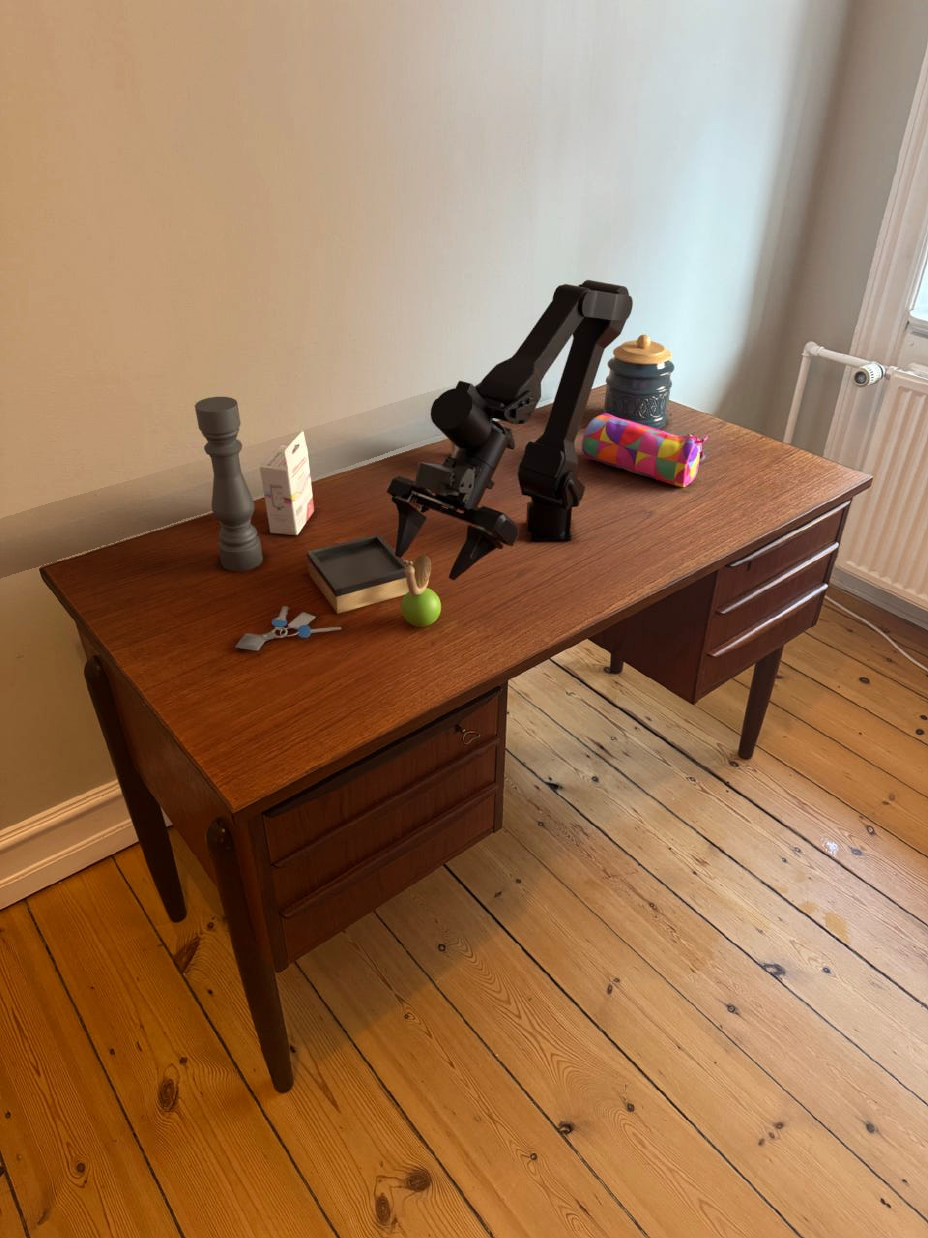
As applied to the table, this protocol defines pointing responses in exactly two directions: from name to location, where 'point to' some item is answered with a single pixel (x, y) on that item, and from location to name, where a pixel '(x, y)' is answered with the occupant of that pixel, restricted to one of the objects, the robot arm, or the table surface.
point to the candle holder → (229, 484)
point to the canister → (639, 382)
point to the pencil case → (643, 449)
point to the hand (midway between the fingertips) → (423, 567)
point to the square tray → (358, 572)
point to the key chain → (298, 623)
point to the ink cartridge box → (288, 487)
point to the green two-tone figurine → (420, 594)
